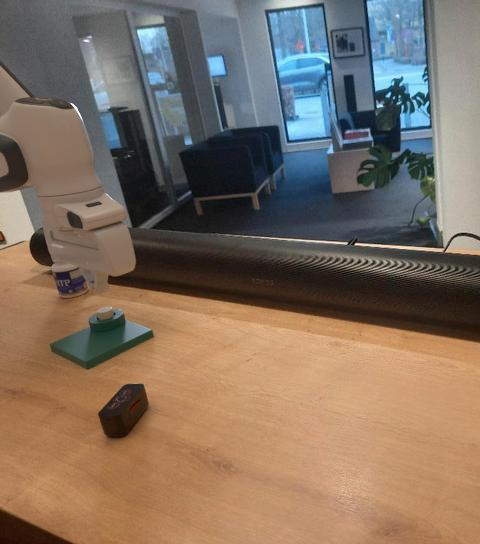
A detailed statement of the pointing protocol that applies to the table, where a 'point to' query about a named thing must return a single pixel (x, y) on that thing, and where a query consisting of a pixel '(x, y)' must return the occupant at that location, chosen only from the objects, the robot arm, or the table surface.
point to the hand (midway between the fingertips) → (100, 291)
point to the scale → (101, 340)
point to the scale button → (105, 313)
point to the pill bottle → (68, 279)
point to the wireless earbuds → (123, 409)
